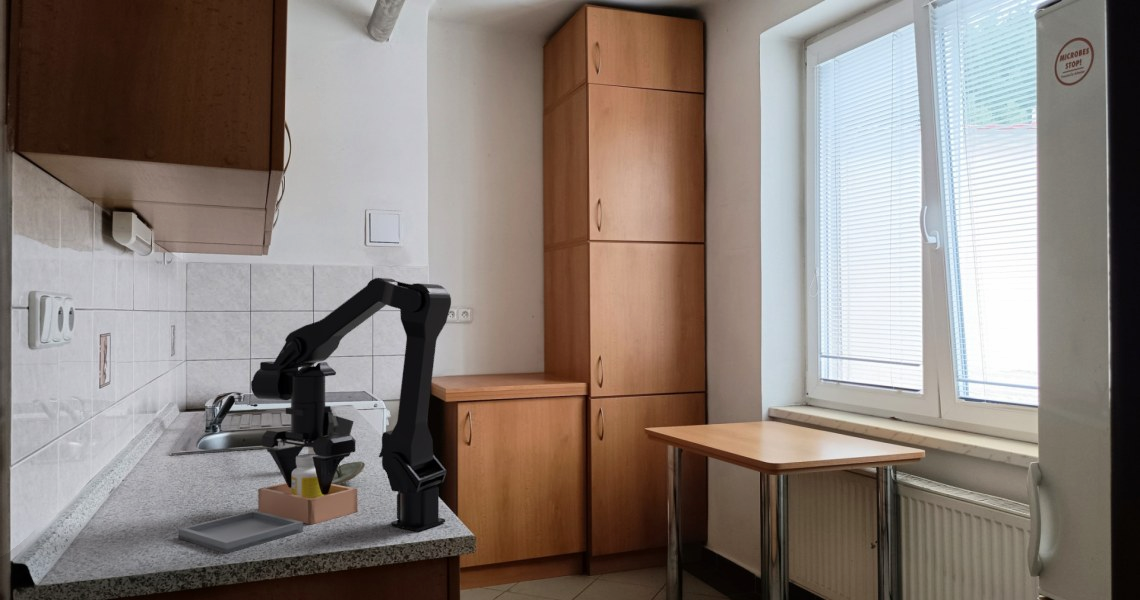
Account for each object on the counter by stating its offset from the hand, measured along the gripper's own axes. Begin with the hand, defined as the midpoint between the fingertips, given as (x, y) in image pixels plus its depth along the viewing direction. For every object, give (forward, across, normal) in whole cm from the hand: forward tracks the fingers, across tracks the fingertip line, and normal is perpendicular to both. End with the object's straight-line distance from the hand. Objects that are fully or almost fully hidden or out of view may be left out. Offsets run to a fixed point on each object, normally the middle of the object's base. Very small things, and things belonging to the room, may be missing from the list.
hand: (308, 490), depth 132 cm
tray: (+4, -3, +14) cm, 15 cm away
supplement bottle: (+4, 0, 0) cm, 4 cm away
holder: (+4, 0, 0) cm, 4 cm away
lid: (+4, +12, -17) cm, 21 cm away
